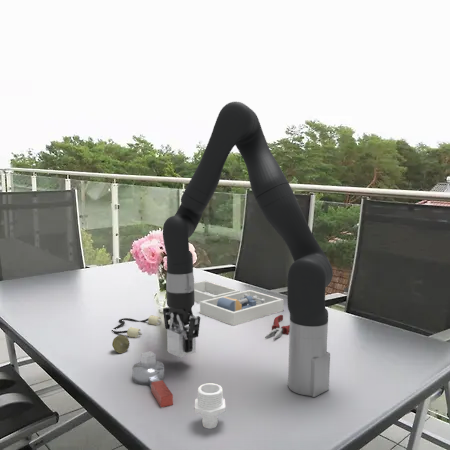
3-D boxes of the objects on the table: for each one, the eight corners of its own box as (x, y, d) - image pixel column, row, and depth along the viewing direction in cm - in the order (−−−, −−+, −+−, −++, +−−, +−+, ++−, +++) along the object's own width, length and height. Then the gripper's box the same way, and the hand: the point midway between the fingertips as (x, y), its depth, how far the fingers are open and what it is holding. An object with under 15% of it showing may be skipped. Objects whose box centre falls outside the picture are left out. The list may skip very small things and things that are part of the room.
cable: (97, 334, 149) (97, 324, 149) (124, 319, 165) (124, 310, 164) (139, 340, 144) (138, 330, 144) (163, 324, 160) (163, 315, 159)
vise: (232, 321, 162) (233, 303, 162) (213, 315, 170) (213, 297, 169) (265, 311, 175) (265, 294, 174) (245, 305, 182) (245, 289, 181)
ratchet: (183, 402, 105) (183, 375, 105) (150, 409, 102) (149, 382, 101) (159, 369, 123) (158, 345, 122) (129, 374, 119) (129, 350, 119)
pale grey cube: (195, 352, 125) (195, 329, 124) (179, 357, 121) (179, 333, 120) (183, 346, 129) (183, 324, 128) (167, 351, 125) (166, 328, 124)
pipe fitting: (224, 415, 100) (224, 380, 99) (225, 434, 93) (225, 397, 92) (195, 415, 100) (195, 380, 99) (194, 434, 93) (194, 397, 92)
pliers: (252, 338, 147) (252, 330, 147) (279, 320, 165) (279, 313, 165) (286, 346, 141) (287, 337, 141) (310, 326, 159) (311, 319, 159)
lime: (131, 349, 136) (130, 333, 135) (123, 355, 131) (123, 339, 131) (117, 347, 137) (117, 331, 137) (109, 353, 133) (109, 337, 132)
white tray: (283, 310, 175) (283, 299, 175) (233, 325, 158) (233, 313, 157) (249, 300, 189) (249, 289, 188) (199, 313, 171) (200, 301, 171)
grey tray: (239, 301, 187) (240, 290, 187) (213, 308, 178) (213, 296, 177) (205, 290, 204) (205, 280, 203) (179, 295, 194) (179, 285, 194)
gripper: (153, 286, 125) (155, 345, 127) (185, 295, 115) (186, 360, 117) (175, 281, 131) (176, 338, 132) (208, 290, 120) (209, 352, 122)
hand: (181, 348), depth 125 cm, fingers closed on pale grey cube, 5 cm apart
